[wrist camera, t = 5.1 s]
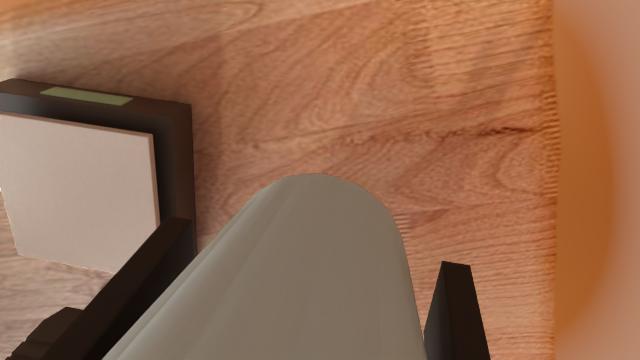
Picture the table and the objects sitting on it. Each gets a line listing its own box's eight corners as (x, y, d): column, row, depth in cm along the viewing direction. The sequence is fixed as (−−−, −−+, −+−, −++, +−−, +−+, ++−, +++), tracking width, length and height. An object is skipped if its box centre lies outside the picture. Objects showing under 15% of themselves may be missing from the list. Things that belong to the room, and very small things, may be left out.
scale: (12, 76, 33) (-40, 92, 29) (191, 102, 32) (162, 123, 28) (47, 233, 40) (9, 263, 36) (197, 260, 38) (174, 295, 34)
